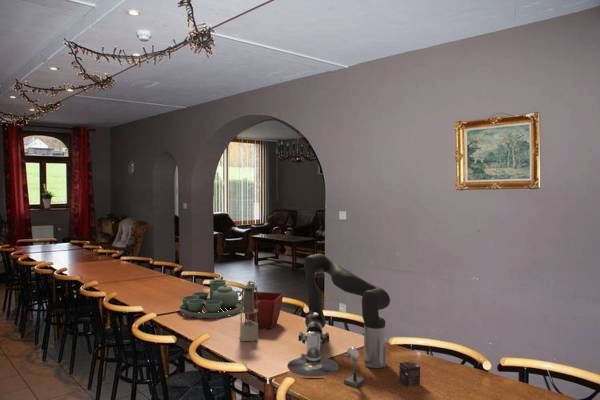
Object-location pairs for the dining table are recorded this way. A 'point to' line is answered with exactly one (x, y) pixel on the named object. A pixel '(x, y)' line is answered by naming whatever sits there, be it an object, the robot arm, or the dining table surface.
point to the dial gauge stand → (353, 380)
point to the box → (409, 373)
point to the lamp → (248, 327)
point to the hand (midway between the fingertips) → (313, 341)
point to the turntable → (313, 367)
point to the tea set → (212, 301)
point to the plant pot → (266, 309)
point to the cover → (313, 347)
